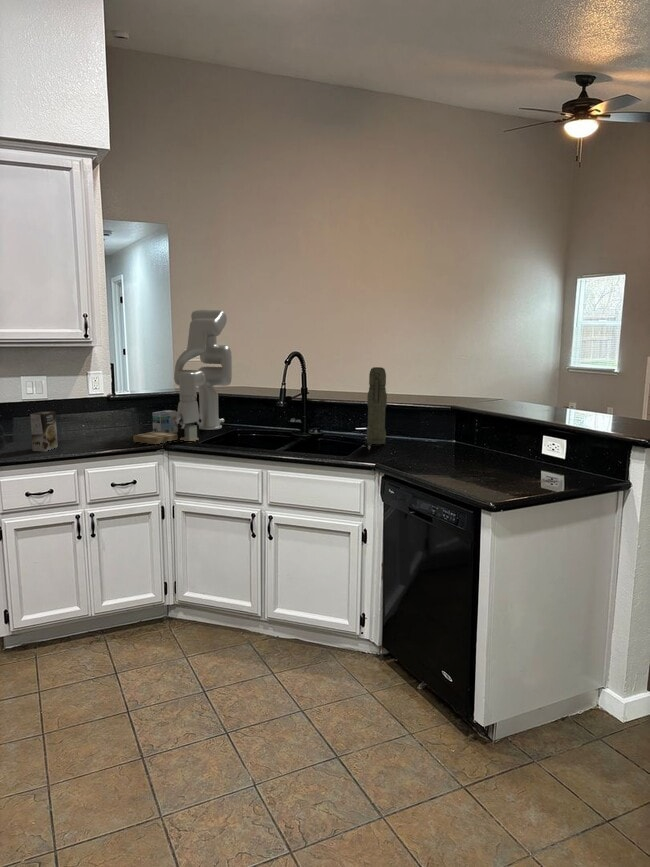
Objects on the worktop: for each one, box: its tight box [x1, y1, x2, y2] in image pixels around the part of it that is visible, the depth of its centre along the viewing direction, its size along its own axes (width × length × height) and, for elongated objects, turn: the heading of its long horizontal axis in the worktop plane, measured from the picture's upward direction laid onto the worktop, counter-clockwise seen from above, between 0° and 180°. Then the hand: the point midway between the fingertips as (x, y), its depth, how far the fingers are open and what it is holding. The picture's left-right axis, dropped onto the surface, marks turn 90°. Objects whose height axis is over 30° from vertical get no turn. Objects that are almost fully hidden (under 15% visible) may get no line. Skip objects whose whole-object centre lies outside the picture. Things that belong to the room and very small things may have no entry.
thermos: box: [365, 366, 388, 445], centre depth 294 cm, size 9×12×35 cm
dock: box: [132, 431, 179, 446], centre depth 297 cm, size 14×14×3 cm
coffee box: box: [30, 410, 58, 453], centre depth 276 cm, size 9×6×16 cm
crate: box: [179, 423, 200, 442], centre depth 299 cm, size 6×6×7 cm
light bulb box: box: [151, 409, 179, 434], centre depth 316 cm, size 11×7×11 cm, turn 143°
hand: (189, 435), depth 299 cm, fingers open, 9 cm apart
